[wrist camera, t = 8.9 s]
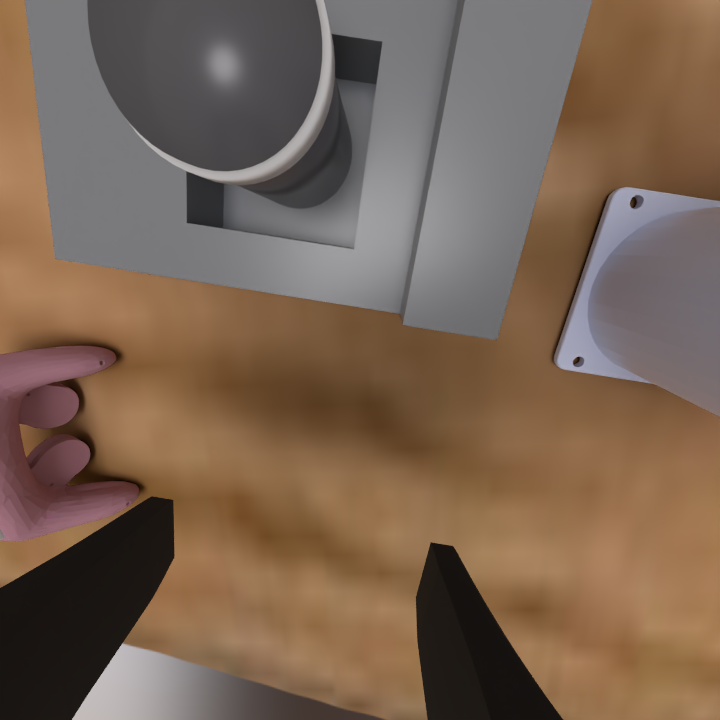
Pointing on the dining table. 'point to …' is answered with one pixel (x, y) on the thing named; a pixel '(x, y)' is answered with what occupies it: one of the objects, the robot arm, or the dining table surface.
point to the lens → (230, 90)
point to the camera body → (366, 173)
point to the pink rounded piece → (49, 445)
